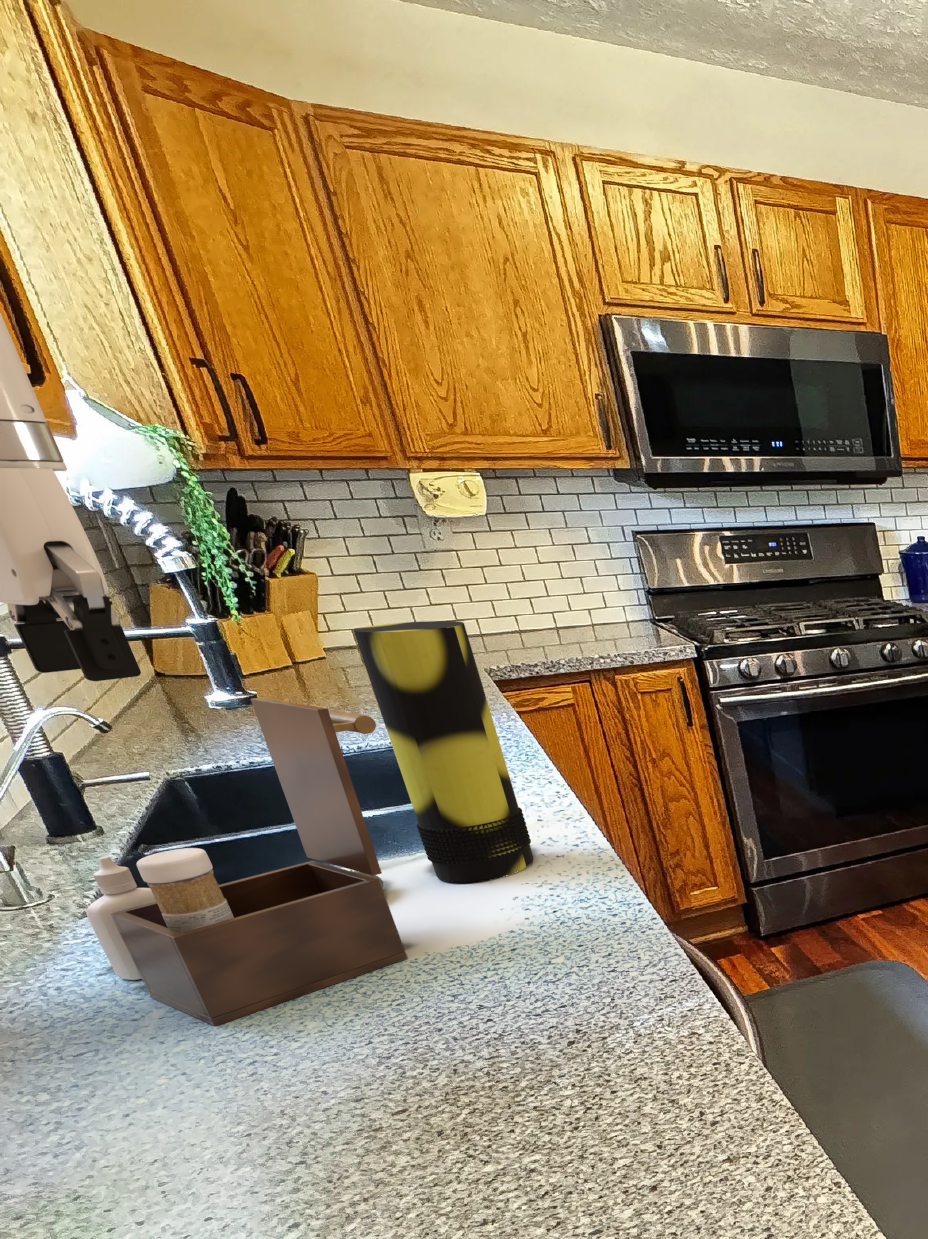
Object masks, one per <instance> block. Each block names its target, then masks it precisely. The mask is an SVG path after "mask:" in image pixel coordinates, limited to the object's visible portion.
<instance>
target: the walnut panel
mask: <svg viewBox="0 0 928 1239" xmlns="http://www.w3.org/2000/svg"><path fill="white" fill-rule="evenodd" d="M250 702H251V704H252V707H253V710H254V713H255V715H256V718H257V722H258V724H259V727H260V730H261V732H262V735H263V739H264V740H265V743H266V747H267V749H268V753H269V755H270V758H271V760H272V763H273V765H274V768H275V772H276V774H277V777H278V780H279V783H280V786H281V789H282V791H283V794H284V797H285V800H286V802H287V805H288V808H289V811H290V814H291V817H292V819H293V822H294V825H295V828H296V830H297V831H296V832H297V833H298V836H299V839H300V842H301V845H302V848H303V851H304V853H305V856H306V858H309V859H312V860H314V861H318V862H321V863H325V864H328V865H332V866H335V867H339V868H343V869H346V870H350V871H351V870H352V871H354V872H361V873H365V874H369V875H372V876H374V875H376V876H378V875H381V874H382V870H381V867H380V863H379V860H378V857H377V854H376V851H375V848H374V845H373V842H372V839H371V836H370V833H369V830H368V827H367V823H366V821H365V818H364V815H363V812H362V809H361V805H360V803H359V802H360V801H359V799H358V797H357V794H356V791H355V787H354V784H353V781H352V778H351V775H350V772H349V769H348V766H347V764H346V760H345V757H344V754H343V751H342V748H341V744H340V741H339V738H338V735H337V733H342V732H352V733H356V734H357V733H358V734H362V735H363V734H364V735H368V734H369V735H370V734H371V733H373V732H374V731H375V730H376V729H377V723H376V721H375V720H374V718H373V717H371V716H369V715H365V714H359V713H352V712H345V711H339V710H334V709H333V710H331V709H330V710H329V709H328V708H327V707H322V706H321V707H319V706H315V705H314V706H313V705H309V704H301V703H295V702H288V701H283V700H277V699H271V698H264V697H255V698H254V697H253V698H250Z"/></svg>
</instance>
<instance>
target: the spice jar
mask: <svg viewBox="0 0 928 1239" xmlns="http://www.w3.org/2000/svg"><path fill="white" fill-rule="evenodd" d="M135 866H136V867H137V870H138V872H139V874H140V877H141V879H142V881H143V882H144V883H147V886H148V888H150V889H151V891H152V893H153V895H154V898H155V899H156V902H157V904H158V906H159V908H160V911H161V912H162V916H163V918H164V920H165V923H166V925H167V927H168V928H169V929H171V930H174V931H177V932H179V933H184V932H187V931H191V930H194V929H198V928H201V927H205V926H208V925H212V924H215V923H219V922H222V921H226V920H229V919H233V918H234V916H233V914H232V912H231V910H230V907H229V905H228V903H227V901H226V899H225V898H224V897H223V894H222V892H221V890H220V888H219V886H218V885H219V883H218V881H217V879H216V878H215V875H214V872H215V871H214V870H213V869H214V866H213V864H212V862H211V860H210V857H209V855H208V853H207V851H206V850H205V849H203V848H198V847H186V848H176V849H170V850H165V851H160V852H156V853H153V854H149V855H146V856H144V857H142V858H140V859H138V860H137V862H136V864H135Z"/></svg>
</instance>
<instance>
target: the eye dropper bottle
mask: <svg viewBox="0 0 928 1239" xmlns="http://www.w3.org/2000/svg"><path fill="white" fill-rule="evenodd" d="M98 860H99V866H100V868H99V870H96V871H95V872H93V874H92V876H93V879H94V881H95V882H96V884H97V886H98V888H99V890H100V892H101V893H100V894H102V896H101V897H99V898H97V899H96V900H94V901H93V902H92V903H91V904H89V905H88V907H87V908H86V910H85V913H86V916H87V919H88V921H89V924H90V926H91V927H92V929H93V932H94V934H95V936H96V938H97V940H98V942H99V944H100V946H101V948H102V950H103V952H104V954H105V956H106V958H107V960H108V962H109V964H110V966H111V968H112V970H113V972H114V974H115V976H116V977H117V978H119V979H122V980H128V981H129V980H130V981H137V980H142V978H141V976H140V974H139V972H138V970H137V968H136V965H135V963H134V961H133V959H132V957H131V955H130V953H129V951H128V949H127V947H126V945H125V943H124V941H123V939H122V937H121V935H120V933H119V931H118V929H117V927H116V925H115V923H114V921H113V919H112V917H111V914H110V913H114V912H117V911H121V910H125V909H129V908H133V907H137V906H140V905H144V904H148V903H152V902H156V899H155V898H154V895H153V893H152V891H151V889H150V887H138V885H137V883H136V881H135V878H134V877H133V874H132V872H131V870H130V868H129V867H127V866H120V865H118V864H116V863H115V862H114V861H113V859H112V858H111V857H110V856H108V855H105V856H101V857H98Z"/></svg>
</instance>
